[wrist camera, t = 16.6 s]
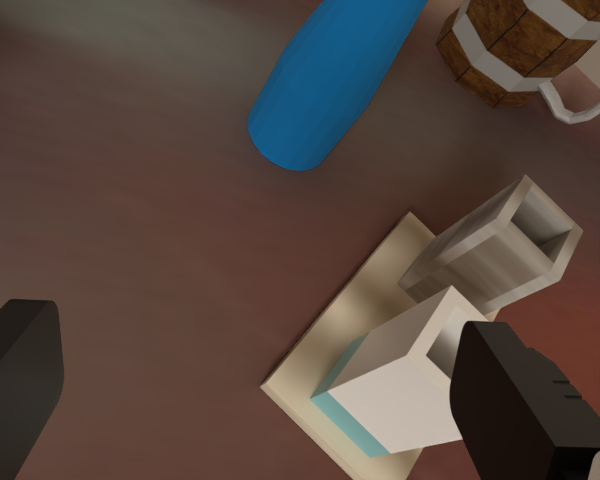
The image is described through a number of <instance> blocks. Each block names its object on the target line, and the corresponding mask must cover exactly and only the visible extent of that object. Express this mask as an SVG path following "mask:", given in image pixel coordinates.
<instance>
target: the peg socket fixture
mask: <svg viewBox="0 0 600 480" xmlns="http://www.w3.org/2000/svg"><path fill="white" fill-rule="evenodd" d="M582 232H583V230H582V229H581V228H580V227H579V226H578V225H577V224H576V223H575V222H574V221H573V220H572V219H571V218H570V217H569V216H568V215H567V214H566V213H565V212H564V211H563V210H561V209H560V208H559V207H558V206H557V205H556V204H555V203H554V202H553V201H552V200H551V199H550V198H549V197H548V196H547V195H546V194H545V193H544V192H543V191H542V190H541V189H540V188H539V187H538V186H537V185H536V184H535V183H534V182H533V181H532V180H531V179H530V178H529V177H528V176H527V175H526V174H525V175H523V176H522V177H520V178H519V179H518V180H516V181H515V182H513V183H512V184H510V185H509V186H508V187H506V188H505V189H503V190H502V191H501V192H499V193H498V194H496V195H495V196H493V197H492V198H491V199H489V200H488V201H486V202H485V203H484V204H482V205H481V206H479V207H478V208H476V209H475V210H474V211H472V212H471V213H469V214H468V215H467V216H465V217H464V218H462V219H461V220H459V221H458V222H457V223H455V224H454V225H452V226H451V227H449V228H448V229H447V230H445V231H444V232H442V233H441V234H440V235H438V236H437V237H436V236H435V235H434V234H433V233H432V232H431V231H430V230H429V229H428V228H427V227H426V226H425V225H424V224H423V223H422V222H421V221H419V220H418V219H417V218H416V217H415V216H414V215H413V214H412V213H411V212H408V213H407V214H406V215H405V216H404V217H402V218H401V220H400V221H399V222H398V223H397V224H396V225H395V227H394V228H393V229H392V230H391V231H390V233H389V234H388V235H387V236H386V237H385V239H384V240H383V241H382V242H381V243H380V244H379V246H378V247H377V248H376V249H375V250H374V252H373V253H372V254H371V255H370V256H369V258H368V259H367V260H366V261H365V262H364V263H363V265H362V266H361V267H360V268H359V269H358V271H357V272H356V273H355V274H354V275H353V276H352V278H351V279H350V280H349V281H348V282H347V284H346V285H345V286H344V287H343V288H342V290H341V291H340V292H339V293H338V294H337V295H336V297H335V298H334V299H333V300H332V301H331V303H330V304H329V305H328V306H327V307H326V309H325V310H324V311H323V312H322V313H321V314H320V316H319V317H318V318H317V319H316V320H315V322H314V323H313V324H312V325H311V326H310V328H309V329H308V330H307V331H306V332H305V333H304V335H303V336H302V337H301V338H300V339H299V341H298V342H297V343H296V344H295V345H294V346H293V348H292V349H291V350H290V351H289V352H288V354H287V355H286V356H285V357H284V358H283V360H282V361H281V362H280V363H279V364H278V365H277V367H276V368H275V369H274V370H273V371H272V373H271V374H270V375H269V376H268V377H267V379H266V380H265V381H264V382H263V383H262V384H261V386H260V388H261V389H262V390H263V391H264V392H265V393H266V394H267V395H268V396H269V397H270V398H271V399H272V400H273V401H274V402H275V403H276V404H277V405H278V406H279V407H280V408H281V409H282V410H283V411H284V412H285V413H286V414H287V415H288V416H289V417H290V418H291V419H292V420H293V421H294V422H296V423H297V424H298V425H299V426H300V427H301V428H302V429H303V430H304V431H305V432H306V433H307V434H308V435H309V436H310V437H311V438H312V439H313V440H314V441H315V442H316V443H317V444H318V445H319V446H320V447H321V448H322V449H323V450H324V451H325V452H326V453H327V454H328V455H329V456H330V457H331V458H332V459H333V460H334V461H335V462H336V463H337V464H338V465H339V466H340V467H341V468H342V469H343V470H344V471H345V472H346V473H347V474H348V475H349V476H350V477H351V478H352V479H353V480H406V478H407V477H408V475H409V473H410V471H411V469H412V467H413V466H414V464H415V462H416V460H417V458H418V457H419V455H420V453H421V451H422V449H423V447H421V448H416V449H411V450H406V451H401V452H397V453H392V454H387V455H382V456H377V457H372V458H369V457H368V456H367V455H366V454H365V453H364V452H363V451H362V450H361V449H360V448H359V447H358V446H357V445H356V444H355V443H354V442H353V441H352V440H351V439H350V438H349V437H348V436H347V435H346V434H345V433H344V432H343V431H342V430H341V429H340V428H338V427H337V426H336V425H335V424H334V423H333V422H332V421H331V420H330V419H329V418H328V417H327V416H326V415H325V414H324V413H323V412H322V411H321V410H320V409H319V408H318V407H317V406H316V405H315V404H314V403H313V402H312V401H311V400H310V398H311V396H312V395H313V394H314V392H315V391H316V390H317V388H318V387H319V386H320V384H321V383H322V382H323V380H324V379H325V377H326V376H327V375H328V373H329V372H330V371H331V369H332V368H333V367H334V365H335V364H336V363H337V361H338V360H339V359H340V357H341V356H342V355H343V353H344V352H345V351H346V349H347V348H348V346H349V345H350V344H351V342H352V341H354V340H356V339H357V338H359V337H361V336H363V335H365V334H366V333H368V332H370V331H372V330H373V329H375V328H377V327H379V326H380V325H382V324H384V323H386V322H387V321H389V320H391V319H393V318H394V317H396V316H398V315H400V314H402V313H403V312H405V311H407V310H409V309H410V308H412V307H414V306H416V305H417V304H419V303H421V302H423V301H424V300H426V299H428V298H430V297H432V296H433V295H435V294H437V293H439V292H440V291H442V290H444V289H446V288H447V287H449V286H451V285H452V286H453V287H454V288H455V289H456V290H457V291H458V292H459V293H460V294H461V295H462V296H463V297H464V298H465V299H467V300H468V301H469V302H470V303H471V304H472V305H473V306H474V307H475V308H476V309H477V310H478V311H479V312H480V313H481V314H482V315H483V316H484V317H485V318H486V319H487V320H488V321H489V322H493V320H494V319H495V317H496V315H497V313H498V311H499V310H500V308H501V307H504V306H506V305H508V304H510V303H512V302H514V301H517V300H519V299H521V298H523V297H525V296H527V295H530V294H532V293H534V292H536V291H538V290H540V289H543V288H545V287H547V286H549V285H551V284H553V283H556V282H558V281H560V279H561V277H562V275H563V273H564V270H565V268H566V266H567V264H568V262H569V260H570V258H571V256H572V254H573V251H574V249H575V247H576V245H577V243H578V241H579V239H580V237H581V235H582Z"/></svg>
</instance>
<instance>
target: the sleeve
mask: <svg viewBox="0 0 600 480" xmlns="http://www.w3.org/2000/svg"><path fill="white" fill-rule="evenodd" d="M467 321H488V320H487V319H486V318H485V317H484V316H483V315H482V314H481V313H480V312H479V311H478V310H477V309H476V308H475V307H474V306H473V305H472V304H471V303H470V302H469V301H468V300H467V299H465V298H464V297H463V296H462V295H461V294H460V293H459V292H458V291H457V290H456V289H455V288H454V287H453V286H452V285H451V286H449V287H447V288H446V289H444V290H442V291H440V292H439V293H437V294H435V295H433V296H432V297H430V298H428V299H426V300H424V301H423V302H421V303H419V304H417V305H416V306H414V307H412V308H410V309H409V310H407V311H405V312H403V313H402V314H400V315H398V316H396V317H394V318H393V319H391V320H389V321H387V322H386V323H384V324H382V325H380V326H379V327H377V328H375V329H373V330H372V331H370V332H368V333H366V334H365V335H363V336H361V337H359V338H357V339H356V340H354V341H352V342H351V344H350V345H349V346H348V348H347V349H346V351H345V352H344V353H343V355H342V356H341V357H340V359H339V360H338V361H337V363H336V364H335V365H334V367H333V368H332V369H331V371H330V372H329V373H328V375H327V376H326V377H325V379H324V380H323V382H322V383H321V384H320V386H319V387H318V388H317V390H316V391H315V392H314V394H313V395H312V396H311V398H310V400H311V401H312V402H313V403H314V404H315V405H316V406H317V407H318V408H319V409H320V410H321V411H322V412H323V413H324V414H325V415H326V416H327V417H328V418H329V419H330V420H331V421H332V422H333V423H334V424H335V425H336V426H337V427H338V428H340V429H341V430H342V431H343V432H344V433H345V434H346V435H347V436H348V437H349V438H350V439H351V440H352V441H353V442H354V443H355V444H356V445H357V446H358V447H359V448H360V449H361V450H362V451H363V452H364V453H365V454H366V455H367V456H368V457H369V458H372V457H377V456H382V455H387V454H392V453H397V452H401V451H406V450H411V449H416V448H421V447H426V446H431V445H436V444H441V443H446V442H451V441H455V440H460V439H462V436H461V434H460V432H459V430H458V428H457V425H456V423H455V421H454V419H453V416H452V413H451V409H450V401H449V390H450V383H451V378H452V373H453V369H454V364H455V359H456V355H457V350H458V345H459V340H460V336H461V331H462V328H463V326H464V324H465V323H466V322H467Z"/></svg>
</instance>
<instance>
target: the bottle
mask: <svg viewBox="0 0 600 480" xmlns="http://www.w3.org/2000/svg"><path fill="white" fill-rule="evenodd" d="M427 1H428V0H323V1H322V2H321V4H320V5H319V6H318V7H317V9H316V10H315V11H314V12H313V14H312V15H311V16H310V17H309V19H308V20H307V21H306V22H305V24H304V25H303V26H302V27H301V29H300V30H299V31H298V32H297V34H296V35H295V36H294V37H293V39H292V40H291V41H290V42H289V44H288V45H287V46H286V47H285V49H284V51H283V52H282V54H281V56H280V58H279V60H278V62H277V63H276V65H275V67H274V69H273V71H272V73H271V74H270V76H269V78H268V80H267V82H266V84H265V85H264V87H263V89H262V91H261V93H260V94H259V96H258V98H257V100H256V102H255V104H254V105H253V107H252V109H251V112H250V114H249V117H248V131H249V134H250V136H251V139H252V141H253V143H254V145H255V146H256V147H257V148H258V150H259V151H260V152H261V154H263V155H264V156H265V157H266V158H267V159H269V160H270V161H271V162H272V163H274V164H277V165H279V166H281V167H283V168H285V169H290V170H295V171H303V170H310V169H312V168H314V167H316V166H318V165H320V164H321V162H322V161H323V160H324V159H325V157H326V156H327V155H328V154H329V153H330V151H331V150H332V149H333V148H334V146H335V145H336V144H337V143H338V142H339V140H340V139H341V138H342V137H343V135H344V134H345V133H346V132H347V131H348V129H349V128H350V127H351V126H352V124H353V123H354V122H355V121H356V120H357V118H358V117H359V116H360V115H361V113H362V112H363V111H364V110H365V108H366V107H367V106H368V105H369V103H370V101H371V99H372V98H373V96H374V94H375V92H376V91H377V89H378V87H379V85H380V84H381V82H382V80H383V78H384V76H385V75H386V73H387V71H388V69H389V68H390V66H391V64H392V62H393V61H394V59H395V57H396V55H397V54H398V52H399V50H400V48H401V46H402V45H403V43H404V41H405V39H406V38H407V36H408V34H409V32H410V31H411V29H412V27H413V25H414V24H415V22H416V20H417V18H418V17H419V15H420V13H421V11H422V9H423V8H424V6H425V4H426V2H427Z"/></svg>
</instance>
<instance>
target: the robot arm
mask: <svg viewBox="0 0 600 480" xmlns="http://www.w3.org/2000/svg"><path fill="white" fill-rule="evenodd" d="M63 381H64V365H63V355H62V344H61V334H60V323H59V313H58V308H57V305H56V304H55V302H54V301H47V300H25V299H11V300H9V301H8V302H7V303H6V304H5V305H4V306H3V307H2V308H1V309H0V480H14V479H15V477H16V476H17V474H18V472H19V470H20V469H21V467H22V465H23V463H24V461H25V460H26V458H27V456H28V454H29V453H30V451H31V449H32V447H33V446H34V444H35V442H36V440H37V439H38V437H39V435H40V433H41V431H42V430H43V428H44V426H45V424H46V423H47V421H48V419H49V417H50V416H51V414H52V412H53V410H54V409H55V407H56V405H57V403H58V401H59V398H60V395H61V392H62V387H63ZM569 382H570V381H569V380H568V379H567V377H566V376H565V375H564V374H563V373H562V371H561V370H560V369H559V368H558V367H557V365H556V364H555V363H554V362H552V361H551V360H549V359H548V358H546V357H545V356H543V355H542V354H541V353H539V352H538V351H536V350H535V349H533V348H526V347H525V345H524V344H523V343H522V341H521V340H520V339H519V338H518V336H517V335H516V334H515V332H514V331H513V330H512V329H511V327H510V326H509V325H508V324H507V323H505V322H489V321H467V322H466V323H465V324H464V326H463V328H462V331H461V336H460V340H459V345H458V350H457V355H456V359H455V364H454V369H453V373H452V378H451V383H450V390H449V401H450V409H451V413H452V416H453V419H454V421H455V423H456V425H457V428H458V430H459V432H460V434H461V436H462V439H463V441H464V443H465V445H466V447H467V450H468V452H469V454H470V456H471V458H472V461H473V463H474V465H475V467H476V469H477V472H478V474H479V476H480V478H481V480H600V417H599V416H598V415H597V414H596V412H595V411H594V410H593V409H592V408H591V406H590V405H589V404H588V403H587V402H586V400H582V396H581V394H580V393H579V392H578V391H577V390H576V388H575V387H574V386H573V385H570V383H569Z"/></svg>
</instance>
